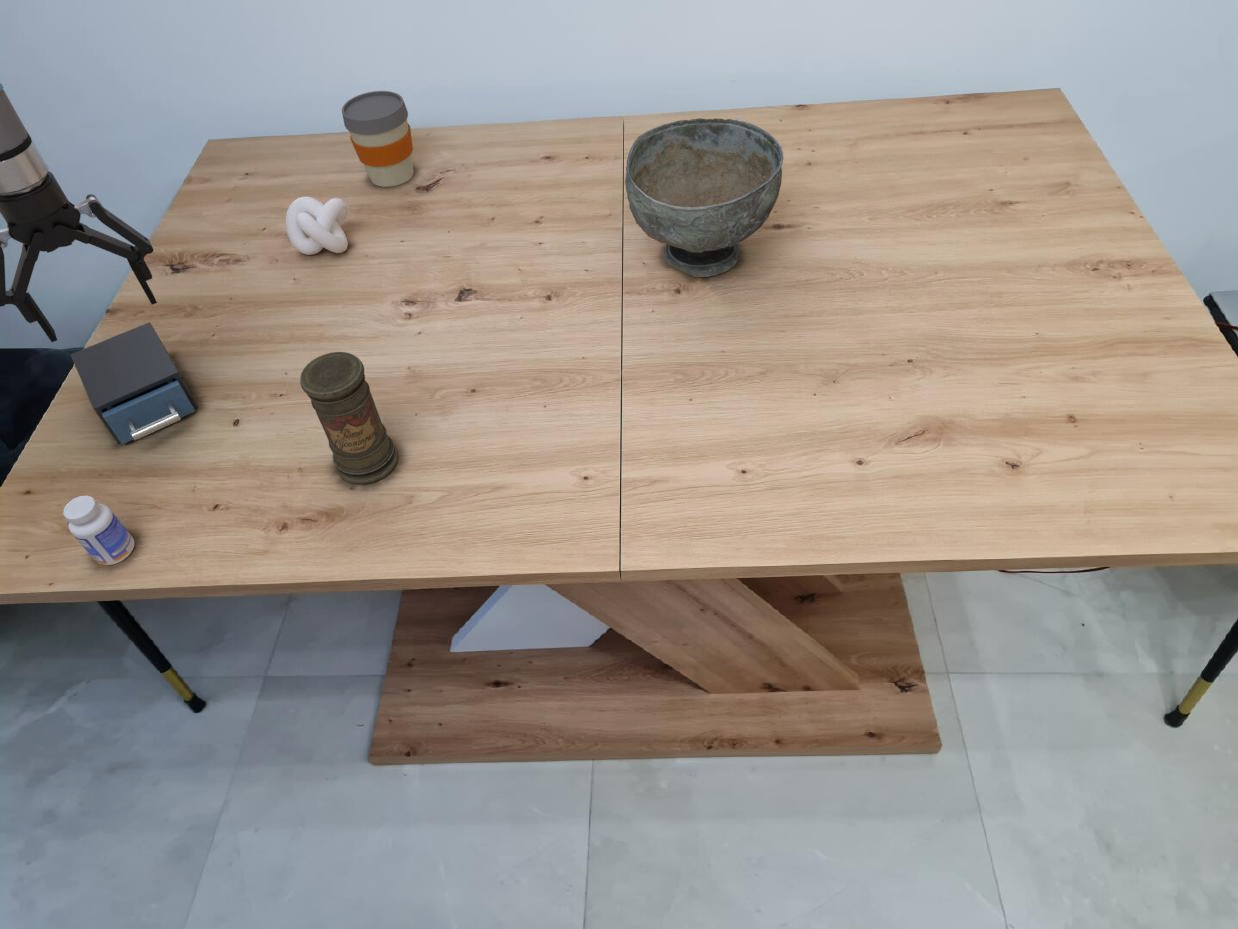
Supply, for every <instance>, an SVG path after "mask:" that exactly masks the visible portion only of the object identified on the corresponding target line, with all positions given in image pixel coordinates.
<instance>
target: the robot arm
mask: <svg viewBox="0 0 1238 929" xmlns="http://www.w3.org/2000/svg"><path fill="white" fill-rule="evenodd" d="M49 170H50V168H49V165H48V164H47V162H46V160H45V158H44V157H43V155H42V153H41V152H40V150H39V148H38V146H37V144H36V142H35V141H34V139H33V137H31V135H30V134H29V132H28V130H27V129H26V127H25V125H24V124H23V121H22V120H21V118H20V117H19V115H18V112H17V111H16V110H15V107H14V106H13V104H12V102H11V100H10V98H9V97H8V95H7V93H6V91H5V89H4V86H3V84H2V83H0V215H1V216H2V218H3V219H4V221H5V223H6V225H7V226H6V227H5V228H0V307H5V306H6V305H13V306H15V307H16V308H17V310H18V311H19V312H20V314H21V316H22V317H23V318H24V320H25V321H26V322H28V323H29V324H33V323H35V322H37V323H38V325H39V326H40V328H41V329H42V331H43V332H44V333H45V335H46V336H47V338H48V339H49V341H50V342H51V343H54V342H56V341H58V338H57V335H56V332H55V328H54V327H53V326H52V325H51V323H50V322H49V320H48V319H47V317H46V316H45V314H44V313H43V311H42V310H41V308H40V307H39V305H38V304H37V302H36V300H35V299H34V298H33V296H32V295H31V293H30V292H29V291H28V288H29V285H30V282H31V278H32V275H33V271H34V268H35V265H36V262H38V259H39V255H40V252H46V253H47V254H49V253H51V252H54V251H56V250H58V249H59V248H64V247H65V248H66V247H69V246H72V245H73V243H74V242H75V241H78V242H80V243H82V244H85V245H92V246H93V247H96V248H99V249H101V250H104V251H107V252H109V253H111V254H114V255H116V256H118V257H122V258H124V259H126V260H127V263H128V265H129V268H131V269H130V270H132V272H133V274H134V276H135V277H136V279H137V282H138V283H139V284H140V287H141V288H142V290H143V292H144V294H145V296H146V297H147V299H148V300H149V302H150V304H151V305H156V304H157V303H158V301H157V299H156V298H155V295H154V293H153V291H152V290H151V288H150V285H149V284H148V282H147V281H150V280H152V279H153V274H152V272H151V270H150V268H149V266H148V264H147V262H146V261H145V257H146V256H147V255H150V254H152V253H154V247H153V245H152V243H151V241H150V239H149V238H147V237H146V236H145V235H144V234H142V233H141V232H139V231H138V230H136V229H135V228H133V227H132V226H131V225H130V224H128V223H126V222H125V221H123V220H122V219H121V218H119V217H118V216H116V215H115V214H114V213H112V212H110V210H108V209H107V208H105V207H104V206H103V205H102V203H101V202H100V200H99V199H98V198H97V196H96V195H94V194H92V193H90V194H87V195H86V197H85V200H83V201H81V202H78V203H76V204H73V203H72V202H71V201H70V200H69V199H68V197H67V196H66V194H65V193H64V191H63V189H62V187H61V185H60V184H59V182H58V180H57V178H56V177H55V176H54V174H53V173H52V172H51V171H49ZM81 215H86V216H88V217H89V218H92V219H94V218H97V219H98V221H100V223H102V224H103V225H104V226H105V227H107V228H109V229H110V230H112V231H113V232H115V233H116V234H117V235H119V236H121V237H122V238H123V239H125V240H126V241H128V242H129V243H128V242H125V241H123V240H120V239H118V238H115V237H113V236H111V235H108V234H106V233H104V232H101V231H98V230H96V229H93V228H91V227H90V226H88V225H87V224H85V223H82V222H80V221H81V217H82V216H81ZM10 239H13V240H14V241H16V242H19V243H20V244H22V247H21V254H20V257H19V259H18V264H17V267H16V270H15V273H14V276H13V280H12V283H11V287H10V288H9V290H7V289H6V288H7V287H6V263H5V253H4V250H3V249H6V248H7V247H8V245H9V243H8V241H9V240H10ZM130 243H131V244H130Z"/></svg>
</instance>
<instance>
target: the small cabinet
mask: <svg viewBox="0 0 1238 929" xmlns="http://www.w3.org/2000/svg"><path fill="white" fill-rule="evenodd" d="M70 357H71V360H72V362H73V365H74V366H75V370H76V371H77V374H78V376H79V379H80V381H81V384H82V386H83V388H84V390H85V392H86V395H87V397H88V399H89V402H90V404H91V406H92V408H93V410H94V412H95V414H96V415H97V416H98V417H99V419H100V420H101V422H102V423H103V424H104V427H106V429H107V430H108V432H109V433H110V435H111V436H112V438H113V439H114V440H115V441H116V443H117V444H118V445H119V444H121V442H120V441H119V439H118V438H117V436H116V435H115V434H114V432H113V431H112V429H111V428H110V426H109V425H108V424H107V422H106V421H105V419H104V418H103V415H102V413H104V412H106V411H107V410H106V408H108V407H110V406H112V405H115V404H117V403H119V402H121V401H124V400H126V399H128V398H131V397H133V396H135V395H137V394H140V393H142V392H144V391H147V390H149V389H151V388H153V387H156V386H158V385H160V384H163V383H165V382H167V381H169V380H172V379H173V381H177V380H178V382H179V384H180V385H181V387H182V389H183V391H184V392H185V394H186V396H187V397H188V399H189V401H190V402H191V404H192V406H193V408H194V409H195V410H197V409H198V408H199V406H198V404H197V402H196V400H195V399H194V397H193V395H192V393H191V392H190V390H189V388H188V386H187V384H186V382H185V380H184V379H183V377H182V375H181V373H180V372H179V370H178V368H177V367H176V364H175V363H174V361H173V359H172V357H171V356H170V354H169V352H168V351H167V349H166V347H165V345H164V343H163V342H162V340H161V338H160V336H159V335H158V334H157V331H156V330H155V328H154V327H153V325H152V323H151V321H149V322H146V323H143V324H141V325H138V326H136V327H133V328H131V329H129V330H127V331H124V332H121V333H119V334H117V335H115V336H112V337H109V338H106V339H104V340H102V341H100V342H97V343H95V344H92V345H90V346H88V347H85V348H83V349H80V350H78V351H75V352H73V353H71V354H70Z"/></svg>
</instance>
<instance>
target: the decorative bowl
mask: <svg viewBox="0 0 1238 929" xmlns="http://www.w3.org/2000/svg"><path fill="white" fill-rule="evenodd" d="M784 158H785V157H784V151H783V149H782V146H781V145H780V143H779V142H778V140H777V139H776V138H775V137H774V136H773V135H771V134H770V133H769V132H767V131H766V130H764V129H763V128H761V127H759V126H757V125H756V124H754V123H751V122H748V121H744V120H738V119H731V118H727V119H725V118H716V117H714V118H702V117H700V118H691V119H680V120H675V121H671V122H669V123H665V124H662V125H661V124H660V125H657V126H656V127H654V128H651V129H649V130H647V131H645V132H644V133H642V134H640V135H638V137H637V138H636V139H635V140H634V142H633V143H632V145H631V147H630V150H629V152H628V156H627V160H626V166H625V172H626V173H625V180H624V185H625V191H626V196H627V197H626V198H627V201H628V204H629V205H628V207H629V210H630V212H631V214H632V216H633V218H634V221H635V223H636V224H637V225H638V227H639V228H640V229H641V230H642V231H643V232H644V233H645V234H646V236H648V237H649V238H651V239H653V240H654V241H657V242H659V243H661V244H665V245H666V246H665V248H664V261H665V263H666V264H667V265H668V266H670V267H672V268H674V269H675V270H678V271H679V272H681V273H683V274H686V275H688V276H690V277H692V278H709V277H714V276H718V275H720V274H724V273H726V272H727V271H730V270H731V269H732V268H734V267H735V266H736V264H737V263H738V260H739V256H740V252H739V250H740V249H739V246H738V245H737V244H739V243H742V242H743V241H745V240H747V239H748V238H750V237H751V236H752V235H754V234H755V233H756V232H757V231H758V230H759V229H760V228H762V226H763V225H764V223H765V222H766V221H767V220H768V218H769V217H770V215H771V213H772V210H774V207H775V205H776V202H777V201H778V198H779V194H780V190H781V186H782V180H783V169H782V165H783V163H784Z"/></svg>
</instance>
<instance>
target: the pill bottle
mask: <svg viewBox="0 0 1238 929" xmlns="http://www.w3.org/2000/svg"><path fill="white" fill-rule="evenodd" d="M62 513H63V517H64V518H65V520H66V521H67V522H68V531H69V532H70V534H71V535H72V537H74V539H75V540H76V541H77V542H78V543H79V544H80V545H81V546H82V548H84V550H85V551H86V552H87V553H88V555H90V557H91V558H92V559H93V560H94V561H95V563H97V564H99V565H102V566H112V565H117V564H119V563H121V562H122V561H124V560H125V559H127V558H128V557H129V556H130V555H131V554H132V552H133V550H134V548H135V539H134V538H133V536H132V535H131V533H130V532H129V531H128V530H127V528H126V527H125V526H124V525H123V523H122V522H121V521H120V519H119V518H118V517H117V516H116V515H115V513H114V512H113V511H112V510H111V508H109V506H107V505H106V504H104V503H98V502H97V501H96V499H95V498H94V497H93V496H91V495H79V496H76V497H74V498H73V499H71V500H70V501H69V502H67V504H66V505H65V506H64V508H63V510H62Z"/></svg>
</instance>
